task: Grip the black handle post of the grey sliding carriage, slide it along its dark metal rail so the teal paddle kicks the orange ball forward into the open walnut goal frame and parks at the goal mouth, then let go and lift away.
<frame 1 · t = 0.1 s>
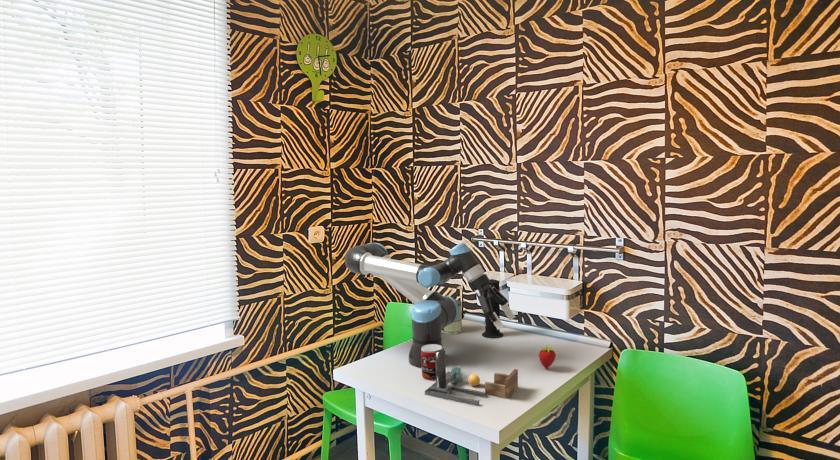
hand: (507, 323, 192), 15 cm above the table, tool tilted 35°, fingers open, 13 cm apart
strawberry: (547, 369, 185), on the table
canned food: (432, 376, 181), on the table
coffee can: (451, 331, 235), on the table
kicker: (447, 366, 170), point 7 cm above the table, slide at 0.0 cm
ball: (474, 385, 171), on the table
handle grip: (492, 335, 227), on the table
rail: (457, 395, 164), on the table
goal: (501, 390, 167), on the table
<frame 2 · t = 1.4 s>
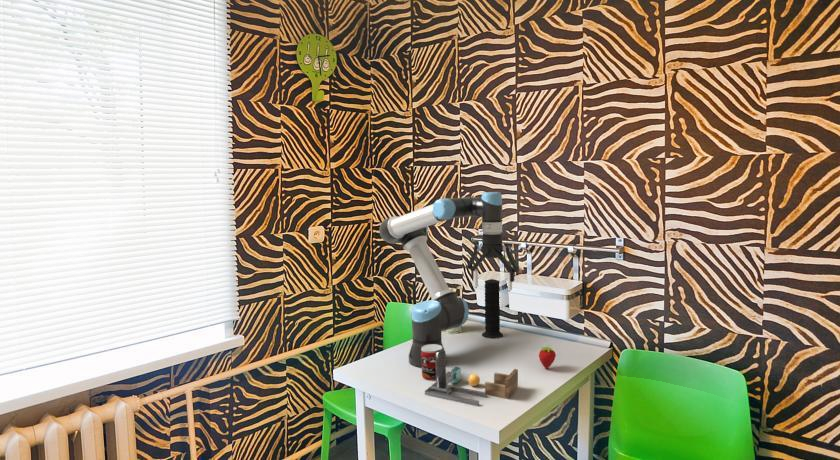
hand: (492, 288, 186), 31 cm above the table, tool pointing down, fingers open, 13 cm apart
nothing on the table moved.
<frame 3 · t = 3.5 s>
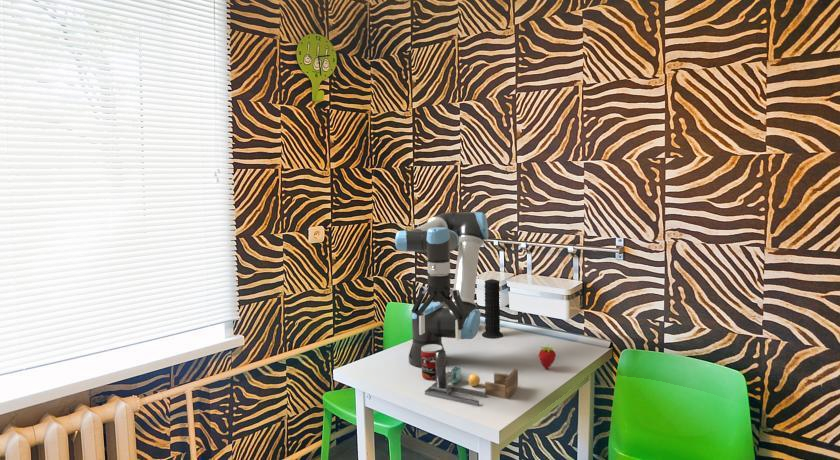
hand: (439, 336, 164), 20 cm above the table, tool pointing down, fingers open, 13 cm apart
nothing on the table moved.
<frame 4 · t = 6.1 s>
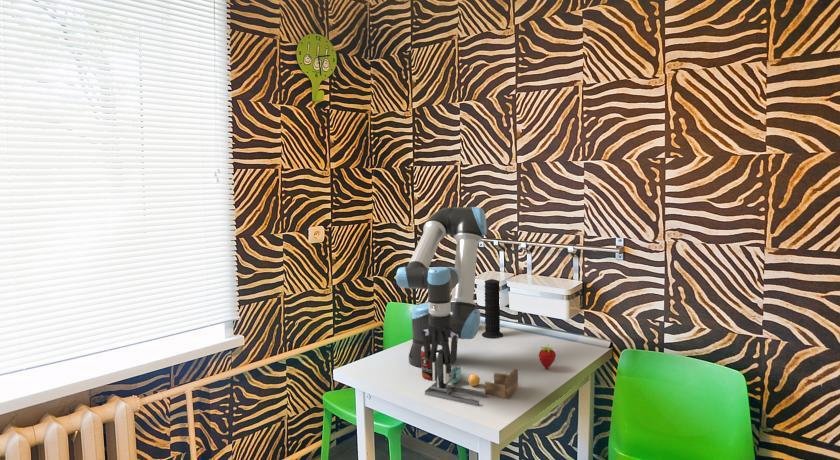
hand: (440, 380, 166), 4 cm above the table, tool pointing down, fingers closed on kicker, 3 cm apart
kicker: (447, 366, 170), point 7 cm above the table, slide at 0.0 cm, touching gripper
everything else where it was.
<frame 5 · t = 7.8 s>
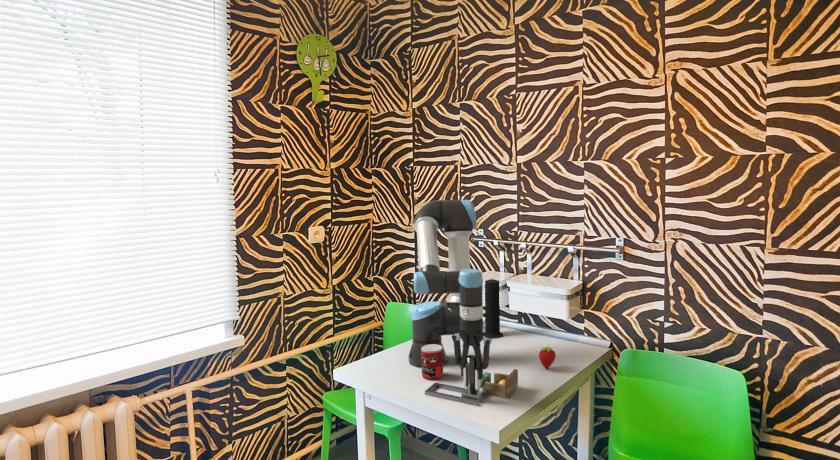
hand: (472, 386, 161), 4 cm above the table, tool pointing down, fingers closed on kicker, 3 cm apart
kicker: (477, 372, 165), point 7 cm above the table, slide at 11.5 cm, touching gripper
ball: (508, 390, 165), point 1 cm above the table, tilted 53°
everything else where it was.
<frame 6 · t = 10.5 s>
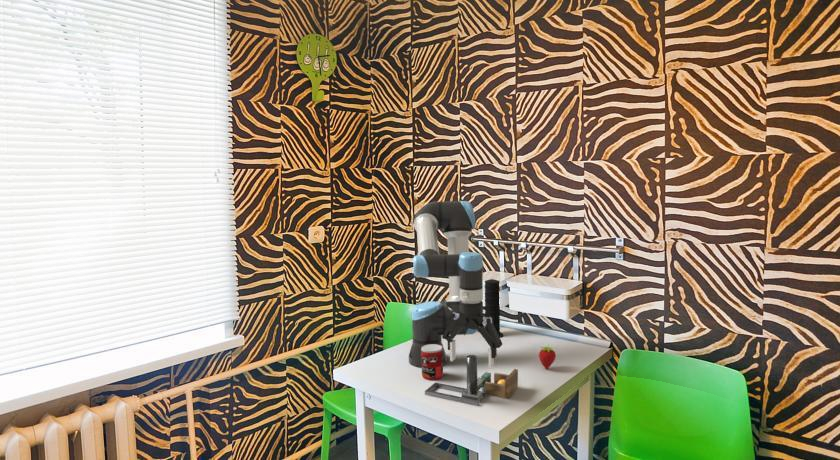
hand: (471, 363, 161), 12 cm above the table, tool pointing down, fingers open, 13 cm apart
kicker: (477, 372, 165), point 7 cm above the table, slide at 11.5 cm
ball: (508, 388, 165), point 1 cm above the table, tilted 67°
everything else where it was.
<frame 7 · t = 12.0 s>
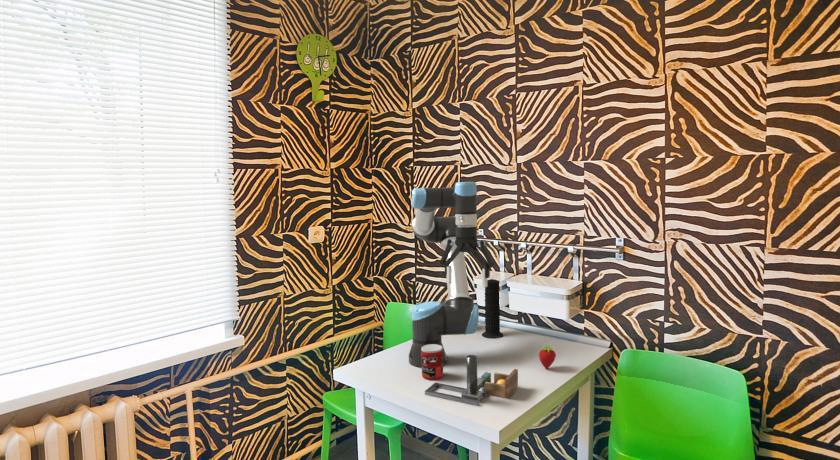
hand: (466, 285, 173), 35 cm above the table, tool pointing down, fingers open, 13 cm apart
ball: (507, 388, 165), point 1 cm above the table, tilted 74°
everything else where it was.
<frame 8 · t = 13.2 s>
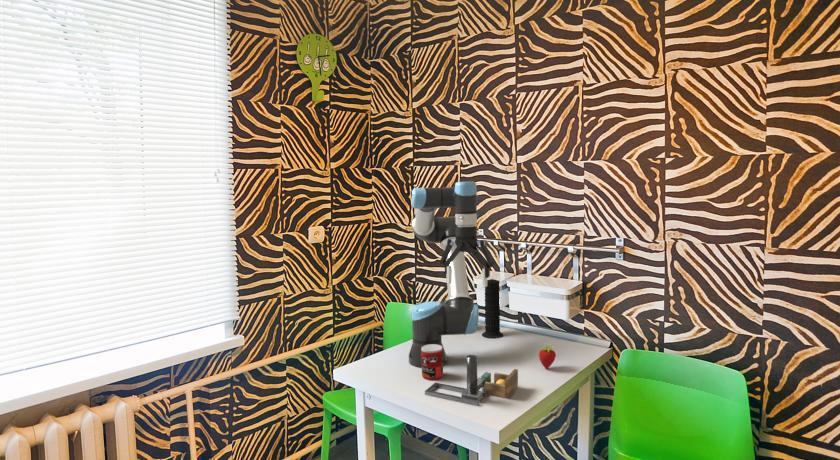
hand: (466, 285, 173), 35 cm above the table, tool pointing down, fingers open, 13 cm apart
ball: (507, 387, 166), point 2 cm above the table, tilted 80°
everything else where it was.
at the end: ball 3.2 cm from the target spot on the goal, point 1.7 cm above the goal's base; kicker slide at 11.5 cm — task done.
